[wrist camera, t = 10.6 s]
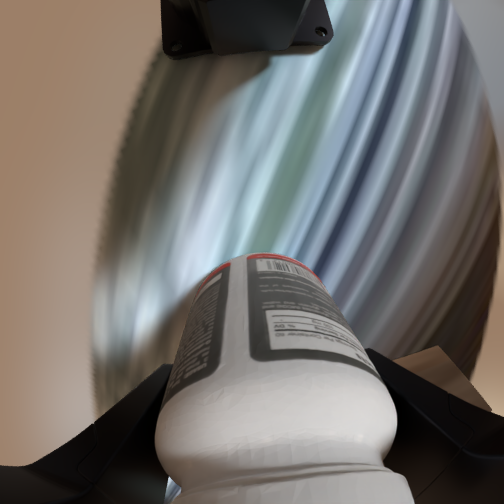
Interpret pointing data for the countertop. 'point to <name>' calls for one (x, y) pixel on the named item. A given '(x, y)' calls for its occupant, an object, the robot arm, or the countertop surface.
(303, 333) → the pill bottle
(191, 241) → the countertop surface
